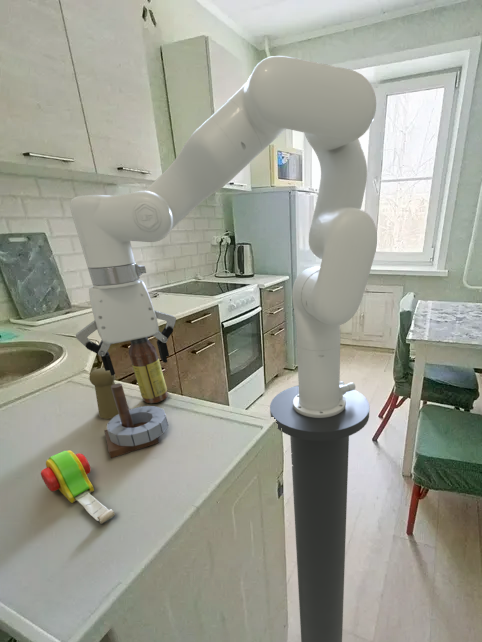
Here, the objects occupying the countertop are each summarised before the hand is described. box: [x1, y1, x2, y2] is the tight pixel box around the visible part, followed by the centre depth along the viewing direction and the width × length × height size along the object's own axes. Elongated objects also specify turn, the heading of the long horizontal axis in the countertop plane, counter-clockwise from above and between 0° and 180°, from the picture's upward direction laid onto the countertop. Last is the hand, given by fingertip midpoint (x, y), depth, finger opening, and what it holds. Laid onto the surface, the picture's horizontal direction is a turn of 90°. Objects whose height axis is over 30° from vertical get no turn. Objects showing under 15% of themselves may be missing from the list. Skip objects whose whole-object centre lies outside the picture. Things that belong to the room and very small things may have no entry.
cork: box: [88, 367, 119, 420], centre depth 82 cm, size 6×6×11 cm
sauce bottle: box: [128, 337, 169, 404], centre depth 85 cm, size 7×6×20 cm
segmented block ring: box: [106, 405, 169, 446], centre depth 73 cm, size 11×11×3 cm
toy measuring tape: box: [40, 449, 116, 525], centre depth 57 cm, size 6×19×7 cm, turn 51°
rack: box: [104, 383, 159, 459], centre depth 70 cm, size 9×9×12 cm
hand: (139, 366), depth 69 cm, fingers open, 9 cm apart
